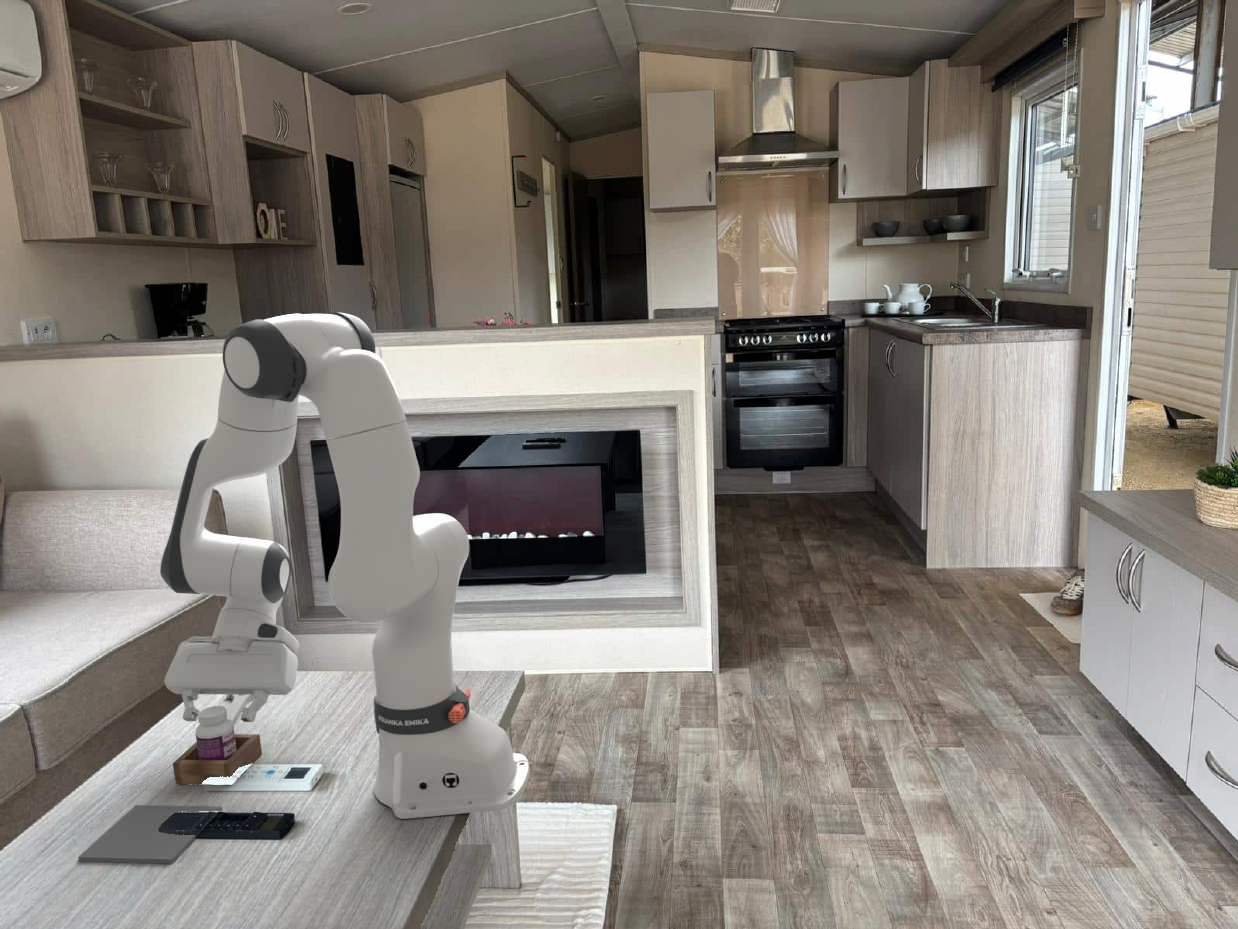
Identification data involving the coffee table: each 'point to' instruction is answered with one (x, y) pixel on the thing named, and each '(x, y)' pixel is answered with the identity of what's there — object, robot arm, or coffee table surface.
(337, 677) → the coffee table surface
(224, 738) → the pill bottle
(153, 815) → the charcoal mat
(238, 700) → the adjustable wrench
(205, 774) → the walnut collar
